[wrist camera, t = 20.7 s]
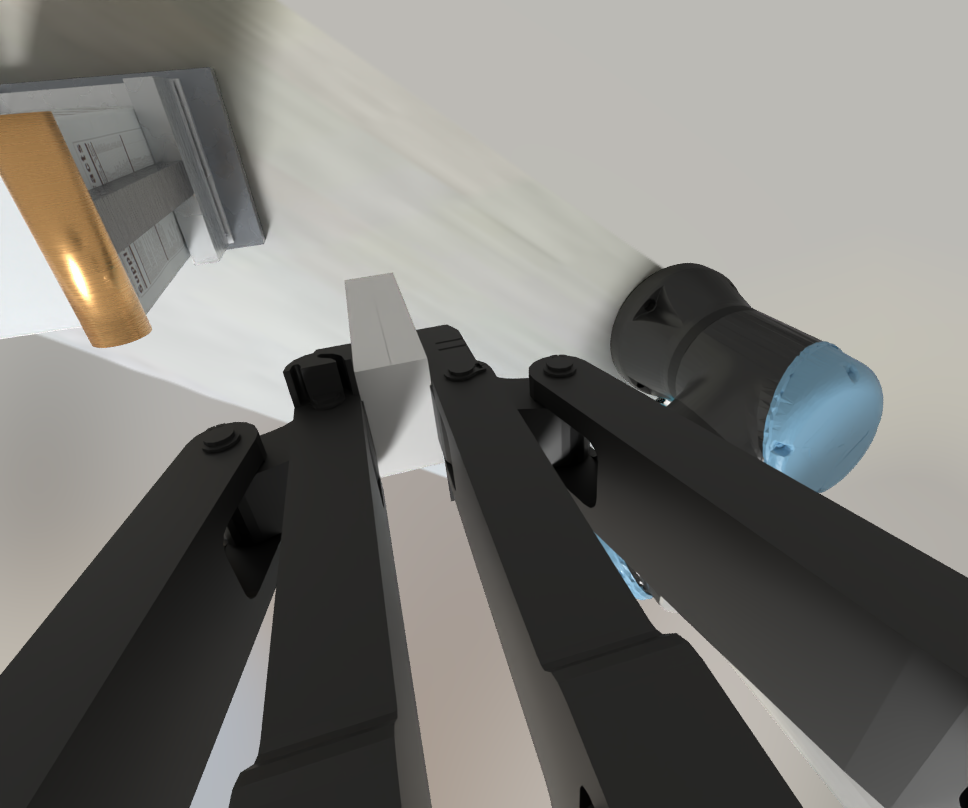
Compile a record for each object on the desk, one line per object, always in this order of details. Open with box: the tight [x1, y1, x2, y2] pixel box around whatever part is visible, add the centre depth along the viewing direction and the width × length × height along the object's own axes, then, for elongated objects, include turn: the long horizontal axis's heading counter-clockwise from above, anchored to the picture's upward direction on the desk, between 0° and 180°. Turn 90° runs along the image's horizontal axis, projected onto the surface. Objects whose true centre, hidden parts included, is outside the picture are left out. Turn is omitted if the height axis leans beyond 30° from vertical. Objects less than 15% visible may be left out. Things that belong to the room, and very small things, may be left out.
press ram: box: [0, 76, 229, 348], centre depth 27 cm, size 11×2×23 cm, turn 4°
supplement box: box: [0, 106, 191, 339], centre depth 29 cm, size 10×9×17 cm
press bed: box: [0, 67, 266, 250], centre depth 36 cm, size 12×16×5 cm
